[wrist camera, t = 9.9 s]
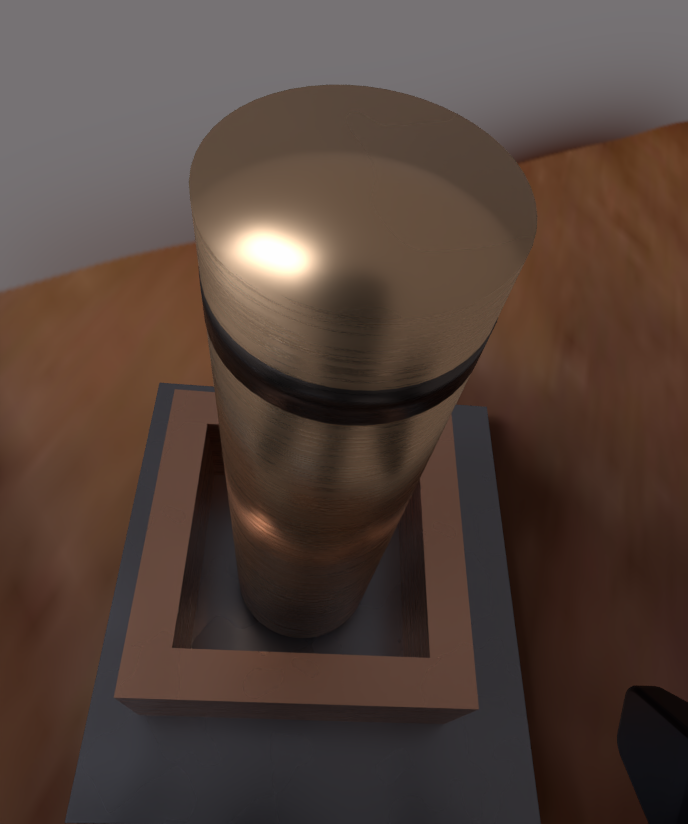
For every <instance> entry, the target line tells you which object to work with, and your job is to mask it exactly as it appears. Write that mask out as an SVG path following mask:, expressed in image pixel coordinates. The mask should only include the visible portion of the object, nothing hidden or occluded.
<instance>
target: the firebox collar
mask: <svg viewBox="0 0 688 824" xmlns="http://www.w3.org/2000/svg"><path fill="white" fill-rule="evenodd" d="M65 823H112V824H541V822H540V814H539V807H538V799H537V791H536V784H535V776H534V768H533V761H532V753H531V745H530V737H529V730H528V722H527V714H526V707H525V699H524V691H523V683H522V676H521V668H520V660H519V653H518V645H517V637H516V629H515V622H514V614H513V606H512V599H511V591H510V583H509V576H508V568H507V560H506V552H505V545H504V537H503V529H502V522H501V514H500V506H499V498H498V491H497V483H496V475H495V468H494V460H493V452H492V445H491V437H490V429H489V421H488V414H487V407H479V406H466V405H455V407H454V409H453V411H452V413H451V415H450V417H449V420H448V422H447V424H446V426H445V428H444V430H443V432H442V434H441V436H440V438H439V440H438V442H437V444H436V446H435V449H434V451H433V453H432V455H431V457H430V459H429V461H428V463H427V465H426V467H425V469H424V471H423V473H422V475H421V477H420V480H419V482H418V484H417V486H416V488H415V490H414V492H413V494H412V496H411V498H410V500H409V502H408V504H407V506H406V508H405V511H404V513H403V515H402V517H401V519H400V521H399V523H398V525H397V527H396V529H395V531H394V533H393V535H392V537H391V539H390V542H389V544H388V546H387V548H386V550H385V552H384V554H383V556H382V558H381V560H380V562H379V564H378V566H377V568H376V571H375V573H374V575H373V577H372V579H371V581H370V583H369V585H368V587H367V589H366V591H365V593H364V595H363V597H362V599H361V601H360V603H359V605H358V607H357V609H356V610H355V612H354V613H353V614H352V615H351V617H350V618H349V619H348V620H347V621H346V622H344V623H343V624H342V625H341V626H339V627H338V628H336V629H335V630H333V631H331V632H329V633H326V634H324V635H320V636H317V637H311V638H294V637H288V636H284V635H281V634H279V633H276V632H274V631H272V630H270V629H269V628H267V627H266V626H264V625H263V624H262V623H260V622H259V621H258V620H257V619H256V618H255V617H254V616H253V614H252V613H251V612H250V610H249V609H248V607H247V605H246V604H245V602H244V599H243V597H242V594H241V590H240V586H239V579H238V571H237V563H236V555H235V547H234V539H233V531H232V524H231V516H230V508H229V500H228V492H227V484H226V476H225V468H224V460H223V453H222V445H221V437H220V429H219V421H218V413H217V405H216V397H215V390H214V387H210V386H196V385H183V384H169V383H159V388H158V393H157V397H156V402H155V407H154V411H153V416H152V421H151V425H150V430H149V434H148V439H147V444H146V448H145V453H144V458H143V462H142V467H141V472H140V476H139V481H138V485H137V490H136V495H135V499H134V504H133V509H132V513H131V518H130V523H129V527H128V532H127V537H126V541H125V546H124V550H123V555H122V560H121V564H120V569H119V574H118V578H117V583H116V588H115V592H114V597H113V601H112V606H111V611H110V615H109V620H108V625H107V629H106V634H105V639H104V643H103V648H102V653H101V657H100V662H99V666H98V671H97V676H96V680H95V685H94V690H93V694H92V699H91V704H90V708H89V713H88V718H87V722H86V727H85V731H84V736H83V741H82V745H81V750H80V755H79V759H78V764H77V769H76V773H75V778H74V782H73V787H72V792H71V796H70V801H69V806H68V810H67V815H66V820H65Z"/></svg>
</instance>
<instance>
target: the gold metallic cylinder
mask: <svg viewBox="0 0 688 824" xmlns="http://www.w3.org/2000/svg"><path fill="white" fill-rule="evenodd" d="M189 188H190V201H191V208H192V216H193V224H194V232H195V240H196V248H197V256H198V264H199V277H200V286H201V294H202V302H203V310H204V317H205V323H206V327H207V334H208V342H209V350H210V358H211V366H212V374H213V382H214V390H215V397H216V405H217V413H218V421H219V429H220V437H221V445H222V453H223V460H224V468H225V476H226V484H227V492H228V500H229V508H230V516H231V524H232V531H233V539H234V547H235V555H236V563H237V571H238V579H239V586H240V590H241V594H242V597H243V599H244V602H245V604H246V605H247V607H248V609H249V610H250V612H251V613H252V614H253V616H254V617H255V618H256V619H257V620H258V621H259V622H260V623H262V624H263V625H264V626H266V627H267V628H269V629H270V630H272V631H274V632H276V633H279V634H281V635H284V636H288V637H294V638H311V637H317V636H320V635H324V634H326V633H329V632H331V631H333V630H335V629H336V628H338V627H339V626H341V625H342V624H343V623H344V622H346V621H347V620H348V619H349V618H350V617H351V615H352V614H353V613H354V612H355V610H356V609H357V607H358V605H359V603H360V601H361V599H362V597H363V595H364V593H365V591H366V589H367V587H368V585H369V583H370V581H371V579H372V577H373V575H374V573H375V571H376V568H377V566H378V564H379V562H380V560H381V558H382V556H383V554H384V552H385V550H386V548H387V546H388V544H389V542H390V539H391V537H392V535H393V533H394V531H395V529H396V527H397V525H398V523H399V521H400V519H401V517H402V515H403V513H404V511H405V508H406V506H407V504H408V502H409V500H410V498H411V496H412V494H413V492H414V490H415V488H416V486H417V484H418V482H419V480H420V477H421V475H422V473H423V471H424V469H425V467H426V465H427V463H428V461H429V459H430V457H431V455H432V453H433V451H434V449H435V446H436V444H437V442H438V440H439V438H440V436H441V434H442V432H443V430H444V428H445V426H446V424H447V422H448V420H449V417H450V415H451V413H452V411H453V409H454V407H455V405H456V403H457V401H458V399H459V397H460V395H461V393H462V391H463V389H464V386H465V384H466V382H467V380H468V378H469V376H470V374H471V373H472V371H473V369H474V367H475V365H476V363H477V361H478V359H479V357H480V355H481V353H482V351H483V349H484V347H485V345H486V343H487V341H488V339H489V337H490V335H491V333H492V331H493V328H494V326H495V324H496V322H497V319H498V316H499V314H500V312H501V310H502V308H503V306H504V304H505V302H506V300H507V298H508V295H509V293H510V291H511V289H512V287H513V285H514V283H515V281H516V279H517V277H518V275H519V273H520V271H521V269H522V267H523V264H524V262H525V260H526V258H527V256H528V254H529V252H530V250H531V248H532V246H533V242H534V238H535V235H536V229H537V211H536V203H535V199H534V196H533V193H532V190H531V187H530V185H529V183H528V181H527V179H526V177H525V175H524V173H523V171H522V170H521V168H520V167H519V166H518V164H517V163H516V161H515V160H514V159H513V158H512V156H511V155H510V154H509V153H508V152H507V151H506V150H505V149H504V147H502V146H501V145H500V144H499V143H498V142H497V141H496V140H495V139H494V138H492V137H491V136H490V135H489V134H488V133H486V132H485V131H483V130H482V129H481V128H479V127H478V126H476V125H475V124H474V123H472V122H470V121H469V120H467V119H465V118H463V117H462V116H460V115H458V114H456V113H454V112H452V111H450V110H448V109H446V108H444V107H442V106H439V105H437V104H434V103H432V102H429V101H427V100H424V99H421V98H418V97H414V96H411V95H408V94H404V93H400V92H396V91H391V90H387V89H381V88H374V87H368V86H355V85H320V86H307V87H301V88H294V89H289V90H285V91H281V92H277V93H273V94H270V95H267V96H264V97H262V98H259V99H256V100H254V101H252V102H250V103H248V104H246V105H244V106H242V107H240V108H238V109H237V110H235V111H233V112H232V113H230V114H229V115H228V116H226V117H225V118H223V119H222V120H221V121H220V122H219V123H218V124H217V125H215V126H214V127H213V128H212V129H211V131H210V132H209V133H208V134H207V135H206V137H205V138H204V139H203V141H202V142H201V144H200V146H199V148H198V149H197V151H196V153H195V156H194V159H193V162H192V165H191V170H190V178H189Z"/></svg>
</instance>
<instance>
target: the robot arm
mask: <svg viewBox="0 0 688 824" xmlns="http://www.w3.org/2000/svg"><path fill="white" fill-rule="evenodd" d="M617 743H618V749H619V753H620V756H621V758H622V761H623V763H624V765H625V768H626V770H627V773H628V775H629V777H630V780H631V782H632V785H633V787H634V790H635V792H636V794H637V797H638V799H639V802H640V804H641V806H642V809H643V811H644V814H645V816H646V818H647V821H648V823H649V824H688V702H686V701H684V700H682V699H681V698H679V697H677V696H675V695H673V694H671V693H670V692H668V691H666V690H664V689H662V688H660V687H656V686H632V687H630V688H629V689H628V690H627V692H626V695H625V699H624V704H623V709H622V714H621V719H620V724H619V729H618V734H617Z"/></svg>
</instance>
